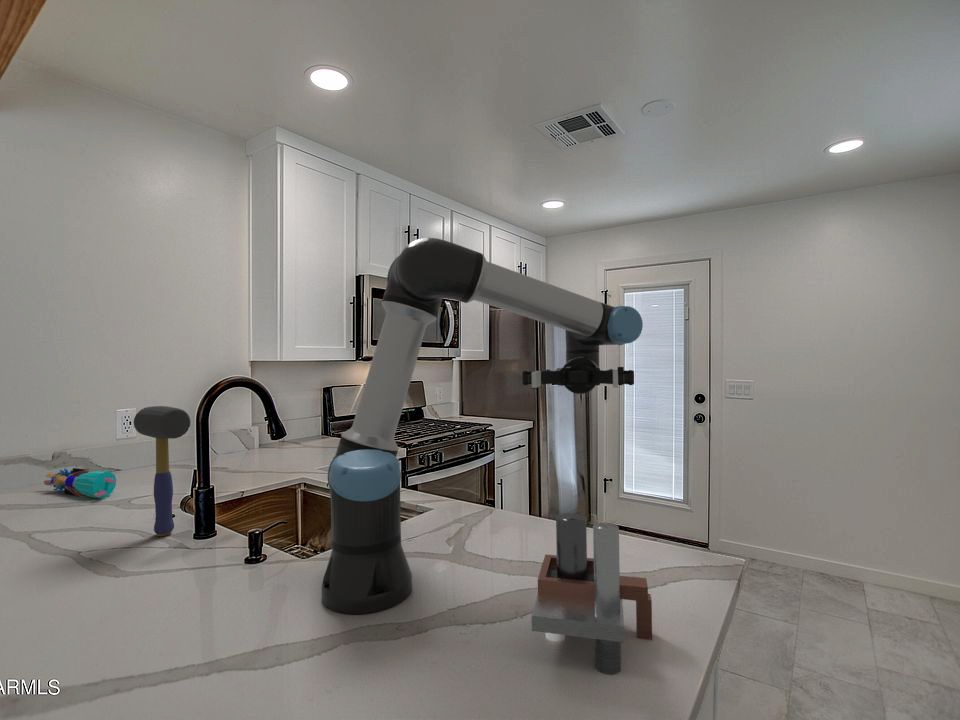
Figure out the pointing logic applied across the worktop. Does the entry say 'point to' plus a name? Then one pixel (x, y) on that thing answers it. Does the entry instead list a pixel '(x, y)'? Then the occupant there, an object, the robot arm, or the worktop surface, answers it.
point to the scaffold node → (593, 601)
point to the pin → (571, 547)
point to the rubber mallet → (162, 456)
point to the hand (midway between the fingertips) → (573, 379)
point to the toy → (83, 482)
